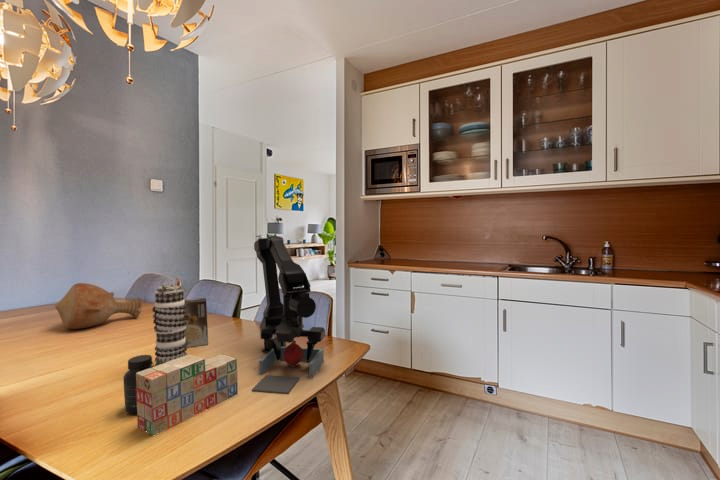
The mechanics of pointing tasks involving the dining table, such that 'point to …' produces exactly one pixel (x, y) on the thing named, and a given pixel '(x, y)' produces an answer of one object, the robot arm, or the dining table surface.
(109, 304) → the jug
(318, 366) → the u-shaped frame
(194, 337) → the coffee box
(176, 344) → the decorative candle
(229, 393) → the stack of blocks
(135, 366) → the supplement bottle
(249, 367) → the dining table surface
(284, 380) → the mat
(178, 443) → the dining table surface
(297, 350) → the onion
